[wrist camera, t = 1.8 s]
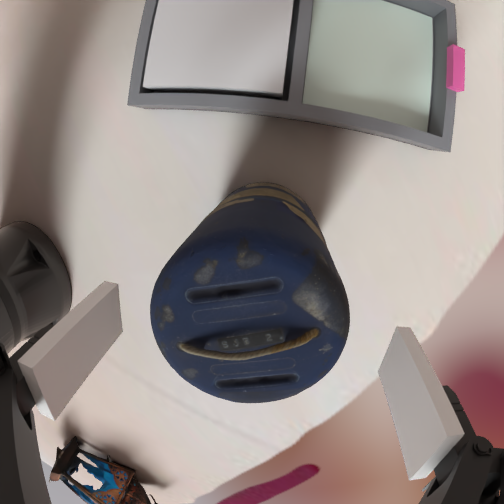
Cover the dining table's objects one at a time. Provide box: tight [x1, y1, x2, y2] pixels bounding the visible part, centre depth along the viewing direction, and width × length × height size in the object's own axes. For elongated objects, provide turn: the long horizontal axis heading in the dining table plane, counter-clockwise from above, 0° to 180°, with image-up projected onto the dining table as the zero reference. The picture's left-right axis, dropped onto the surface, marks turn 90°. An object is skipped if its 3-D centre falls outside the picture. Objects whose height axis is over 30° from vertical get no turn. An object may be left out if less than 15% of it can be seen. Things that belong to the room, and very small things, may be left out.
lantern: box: [49, 436, 158, 504], centre depth 44 cm, size 16×16×25 cm
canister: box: [150, 183, 350, 403], centre depth 20 cm, size 10×10×18 cm
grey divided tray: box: [127, 0, 465, 152], centre depth 20 cm, size 27×15×5 cm, turn 83°
